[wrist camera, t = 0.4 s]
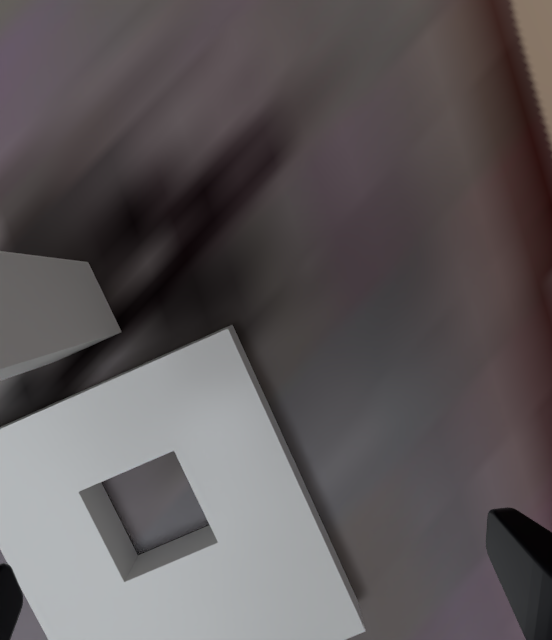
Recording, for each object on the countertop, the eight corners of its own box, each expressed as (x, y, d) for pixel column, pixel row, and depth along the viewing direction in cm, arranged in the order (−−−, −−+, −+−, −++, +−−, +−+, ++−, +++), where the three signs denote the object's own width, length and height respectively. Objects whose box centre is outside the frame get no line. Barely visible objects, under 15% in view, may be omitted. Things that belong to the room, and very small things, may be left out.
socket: (357, 600, 22) (365, 631, 20) (116, 699, 23) (101, 739, 21) (232, 324, 21) (227, 328, 19) (-22, 436, 21) (-52, 451, 19)
